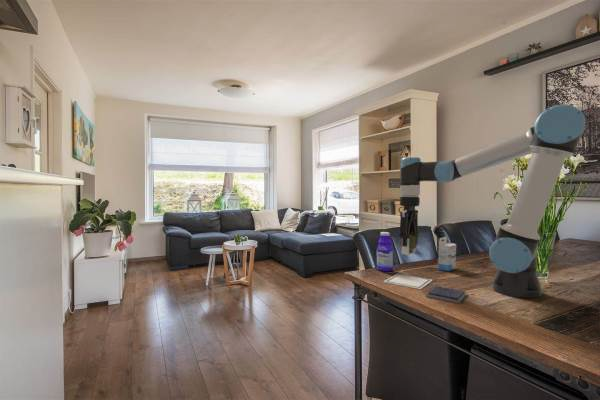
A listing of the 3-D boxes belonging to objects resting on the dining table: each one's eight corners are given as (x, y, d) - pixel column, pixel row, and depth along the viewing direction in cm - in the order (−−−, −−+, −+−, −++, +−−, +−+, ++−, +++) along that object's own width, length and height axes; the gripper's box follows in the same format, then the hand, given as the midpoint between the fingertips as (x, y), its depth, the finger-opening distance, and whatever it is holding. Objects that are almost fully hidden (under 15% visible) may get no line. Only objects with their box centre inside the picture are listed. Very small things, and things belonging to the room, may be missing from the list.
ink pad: (466, 294, 119) (467, 291, 119) (459, 303, 110) (459, 299, 110) (435, 288, 125) (435, 285, 125) (425, 296, 117) (425, 292, 117)
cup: (419, 255, 130) (419, 235, 130) (399, 254, 132) (400, 234, 132) (416, 251, 138) (416, 232, 137) (398, 251, 139) (398, 232, 139)
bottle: (374, 270, 153) (375, 232, 152) (379, 267, 158) (379, 231, 157) (390, 272, 149) (390, 233, 148) (394, 269, 153) (395, 232, 153)
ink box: (448, 271, 150) (449, 239, 150) (437, 269, 154) (438, 238, 153) (456, 268, 156) (456, 237, 156) (445, 266, 160) (446, 236, 159)
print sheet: (432, 280, 136) (432, 279, 136) (420, 289, 125) (420, 288, 125) (397, 274, 146) (397, 273, 146) (383, 282, 134) (383, 281, 134)
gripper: (409, 195, 144) (408, 248, 145) (391, 196, 128) (389, 255, 129) (427, 195, 139) (425, 250, 140) (410, 197, 124) (409, 258, 125)
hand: (408, 252), depth 135 cm, fingers closed on cup, 7 cm apart
